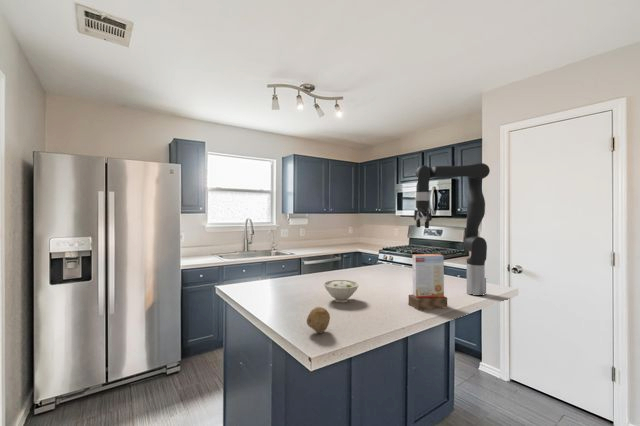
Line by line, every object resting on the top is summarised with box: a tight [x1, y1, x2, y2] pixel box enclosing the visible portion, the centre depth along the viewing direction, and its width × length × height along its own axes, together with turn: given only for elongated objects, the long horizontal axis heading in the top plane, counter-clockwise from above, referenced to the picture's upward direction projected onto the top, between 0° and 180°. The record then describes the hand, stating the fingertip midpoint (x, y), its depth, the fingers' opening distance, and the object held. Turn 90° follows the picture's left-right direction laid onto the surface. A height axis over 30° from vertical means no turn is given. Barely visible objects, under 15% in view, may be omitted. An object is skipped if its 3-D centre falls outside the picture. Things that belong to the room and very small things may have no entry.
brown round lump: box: [306, 306, 331, 334], centre depth 116 cm, size 9×9×10 cm
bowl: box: [322, 279, 360, 303], centre depth 159 cm, size 19×19×10 cm
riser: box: [408, 294, 448, 311], centre depth 149 cm, size 16×9×5 cm, turn 104°
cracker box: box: [411, 253, 445, 298], centre depth 149 cm, size 14×6×21 cm, turn 90°
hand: (422, 227), depth 174 cm, fingers open, 8 cm apart
